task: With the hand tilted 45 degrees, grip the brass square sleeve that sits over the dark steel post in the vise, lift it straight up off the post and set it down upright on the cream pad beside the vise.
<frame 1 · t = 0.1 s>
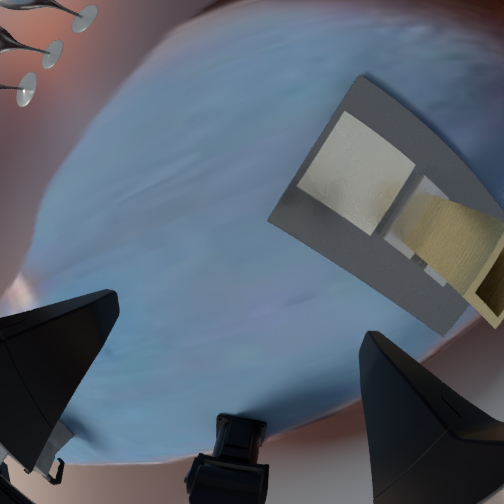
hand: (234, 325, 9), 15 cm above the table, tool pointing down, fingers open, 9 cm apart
coffeepot: (62, 427, 45), on the table
vise: (424, 227, 21), on the table
goblet set: (84, 20, 18), on the table
sleeve: (437, 235, 19), point 2 cm above the table, touching vise
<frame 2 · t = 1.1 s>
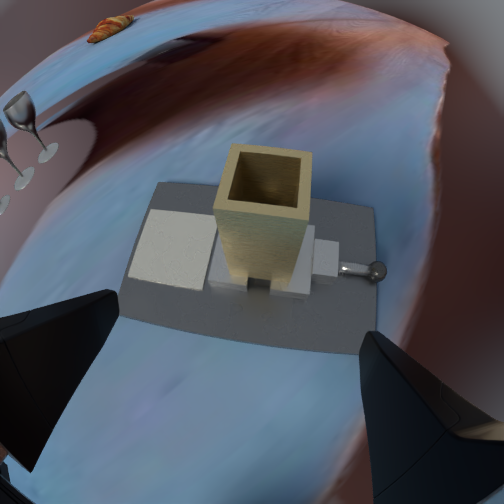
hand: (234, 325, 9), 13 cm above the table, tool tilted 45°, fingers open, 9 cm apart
croissant: (113, 33, 59), on the table
vise: (263, 263, 24), on the table
goblet set: (2, 207, 29), on the table
sleeve: (263, 251, 22), point 2 cm above the table, touching vise
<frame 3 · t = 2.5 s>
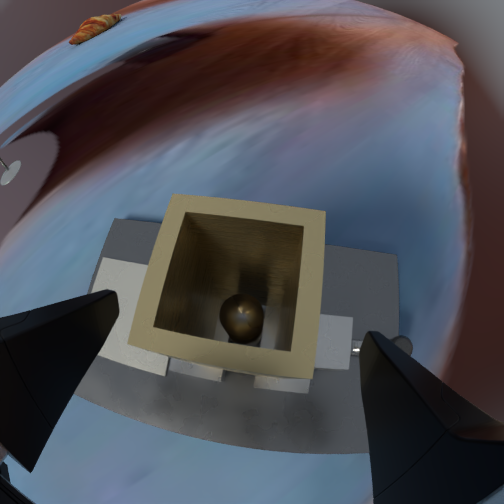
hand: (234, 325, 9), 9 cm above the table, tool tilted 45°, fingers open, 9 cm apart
croissant: (98, 33, 53), on the table
vise: (247, 338, 17), on the table
sleeve: (245, 332, 15), point 2 cm above the table, touching vise
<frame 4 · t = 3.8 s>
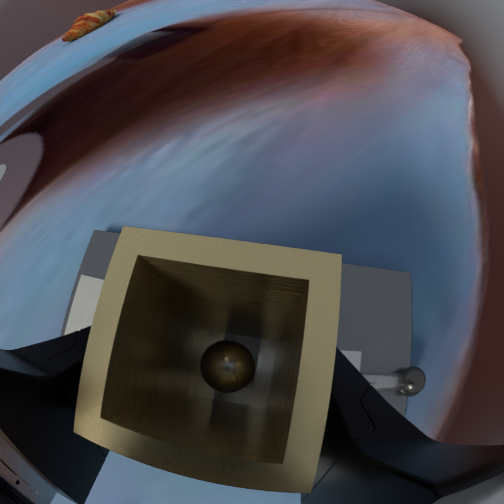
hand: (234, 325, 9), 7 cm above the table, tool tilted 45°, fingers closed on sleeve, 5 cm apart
croissant: (92, 29, 50), on the table
vise: (240, 370, 15), on the table
sleeve: (237, 369, 13), point 2 cm above the table, touching gripper, vise
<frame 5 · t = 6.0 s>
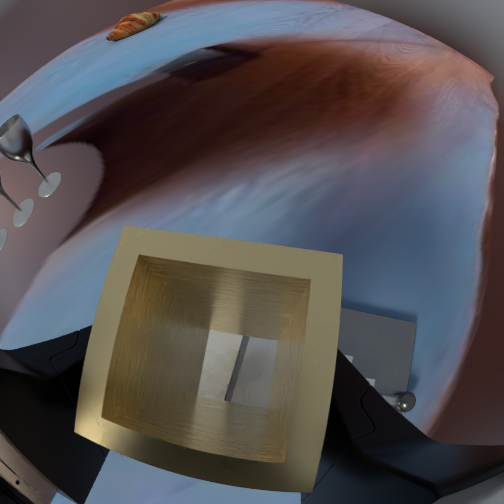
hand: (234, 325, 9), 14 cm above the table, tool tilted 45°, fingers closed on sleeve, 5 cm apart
croissant: (137, 30, 57), on the table
vise: (289, 384, 20), on the table
sleeve: (237, 369, 13), point 9 cm above the table, touching gripper
when the fingers open (7 cm above the table, at t = 8.3 s): sleeve drops 1 cm, resting on vise.
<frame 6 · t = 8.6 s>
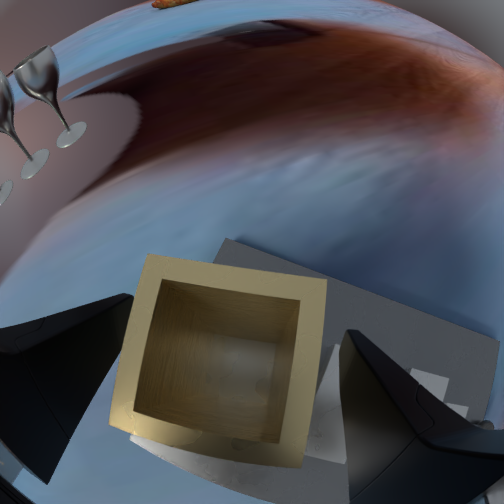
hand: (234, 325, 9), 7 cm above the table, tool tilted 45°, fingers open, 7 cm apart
croissant: (185, 2, 52), on the table
vise: (364, 412, 14), on the table
goblet set: (2, 196, 22), on the table
sleeve: (240, 369, 14), point 1 cm above the table, touching vise
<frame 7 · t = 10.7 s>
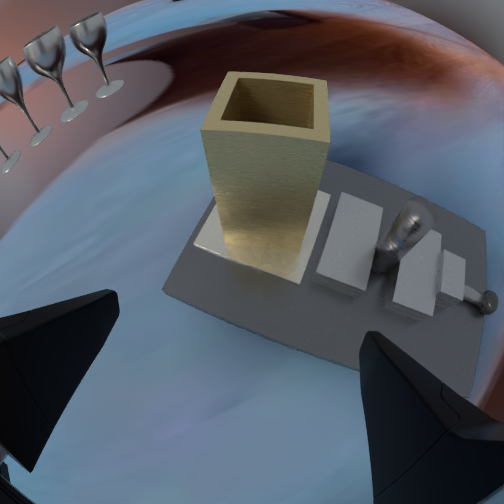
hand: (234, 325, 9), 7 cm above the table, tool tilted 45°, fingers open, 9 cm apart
vise: (374, 266, 18), on the table
goblet set: (40, 137, 27), on the table
sleeve: (267, 216, 18), point 1 cm above the table, touching vise
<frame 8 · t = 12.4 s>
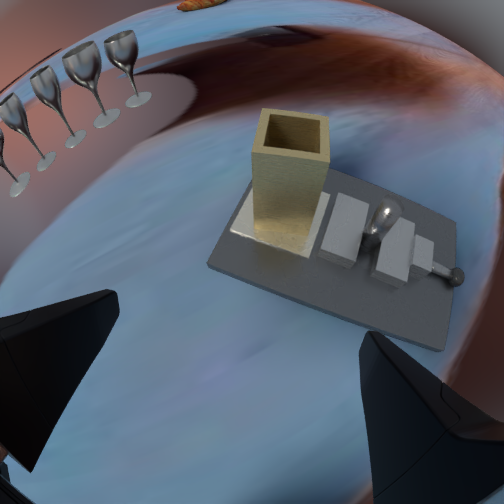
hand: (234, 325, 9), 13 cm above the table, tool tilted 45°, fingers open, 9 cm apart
croissant: (205, 6, 63), on the table
vise: (363, 247, 24), on the table
goblet set: (74, 140, 33), on the table
sleeve: (283, 209, 24), point 1 cm above the table, touching vise
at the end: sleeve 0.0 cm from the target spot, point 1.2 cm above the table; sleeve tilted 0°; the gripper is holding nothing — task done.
